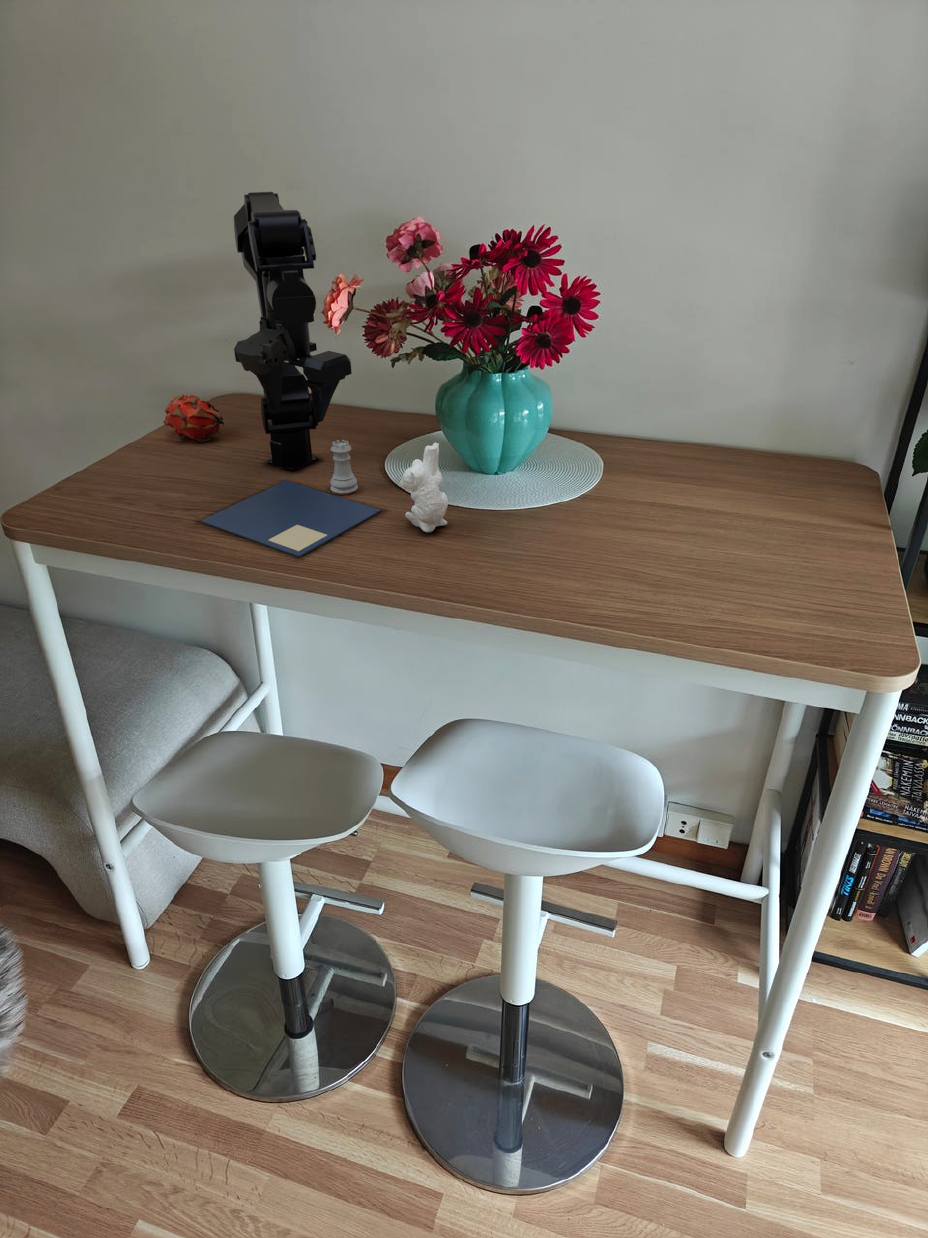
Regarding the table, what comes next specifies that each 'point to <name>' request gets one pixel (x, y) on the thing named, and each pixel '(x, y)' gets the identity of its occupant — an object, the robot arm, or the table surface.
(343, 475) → the rook chess piece
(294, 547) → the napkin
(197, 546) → the table surface
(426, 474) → the white bunny statuette
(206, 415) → the dragon fruit
